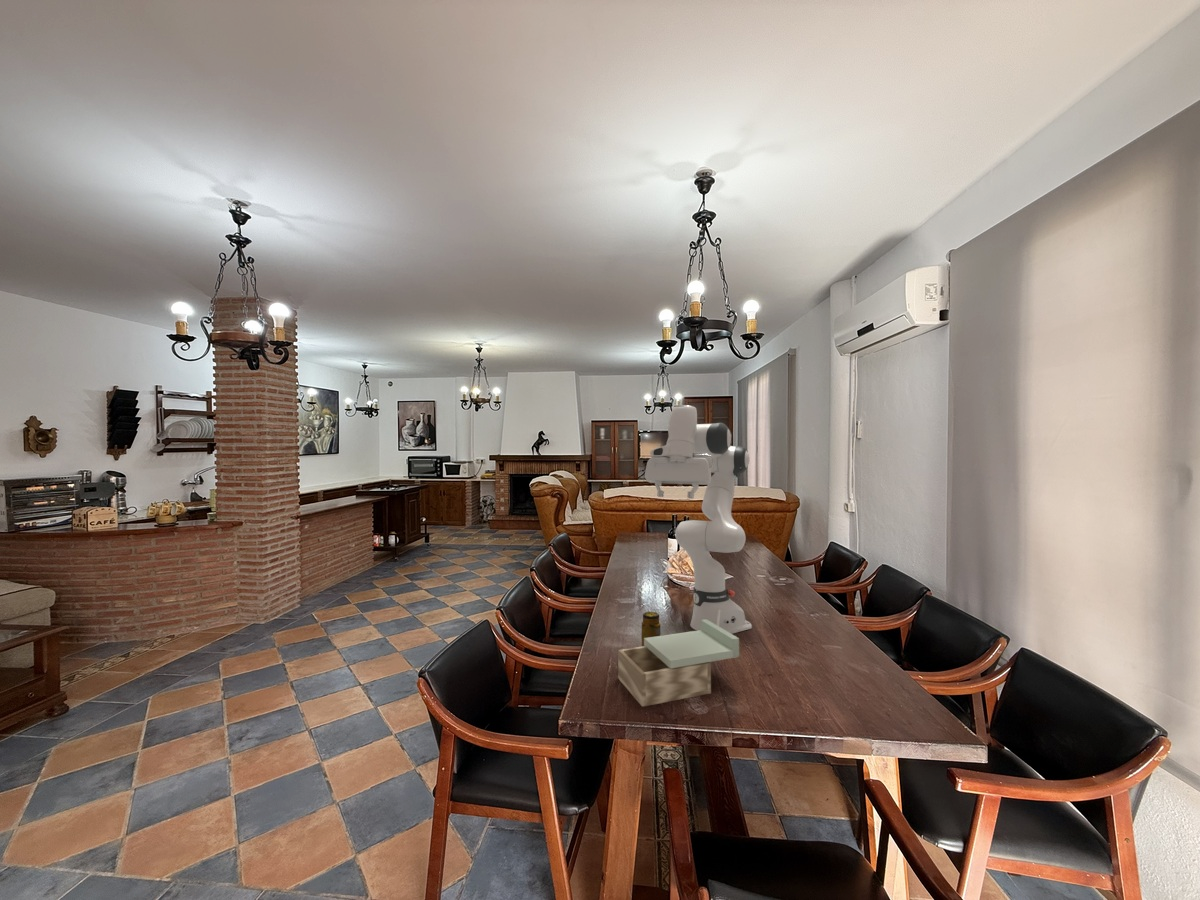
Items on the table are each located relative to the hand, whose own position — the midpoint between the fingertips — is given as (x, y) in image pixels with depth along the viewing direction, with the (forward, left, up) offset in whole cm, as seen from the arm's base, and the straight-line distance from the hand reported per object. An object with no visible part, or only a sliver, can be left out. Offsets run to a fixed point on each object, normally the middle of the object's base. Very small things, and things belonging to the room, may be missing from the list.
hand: (675, 497), depth 140 cm
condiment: (+2, -12, -51) cm, 52 cm away
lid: (0, +9, -42) cm, 43 cm away
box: (+9, +9, -51) cm, 52 cm away
